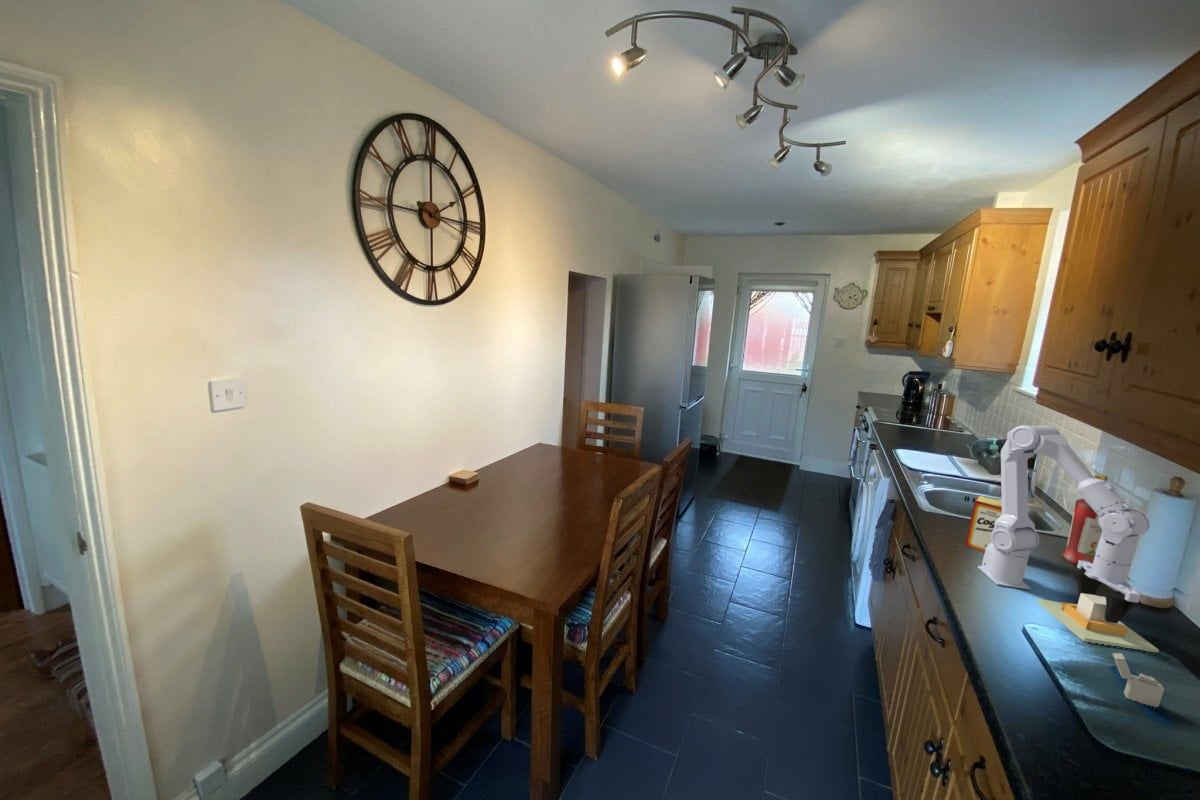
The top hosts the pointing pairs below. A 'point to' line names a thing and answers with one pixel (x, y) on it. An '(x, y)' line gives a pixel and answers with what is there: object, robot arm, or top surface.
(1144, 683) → the lighter
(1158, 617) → the top surface
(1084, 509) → the liquor
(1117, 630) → the deck
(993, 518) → the baking soda box
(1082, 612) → the chute block
